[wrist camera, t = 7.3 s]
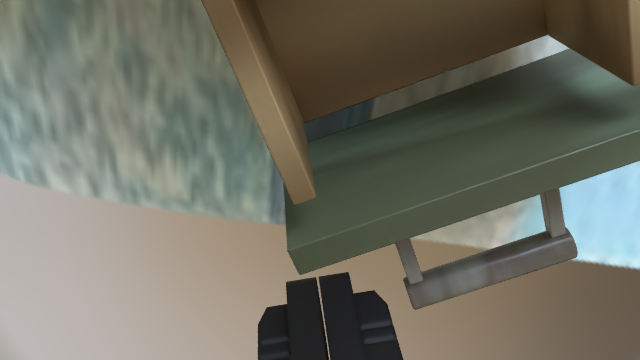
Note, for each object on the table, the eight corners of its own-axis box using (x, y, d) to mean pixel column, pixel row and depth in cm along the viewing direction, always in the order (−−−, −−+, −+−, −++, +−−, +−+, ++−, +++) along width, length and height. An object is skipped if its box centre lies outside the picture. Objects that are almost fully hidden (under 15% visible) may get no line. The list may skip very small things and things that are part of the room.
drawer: (590, 172, 27) (691, 267, 21) (328, 260, 28) (348, 376, 22) (525, -394, 17) (687, -553, 10) (118, -216, 18) (39, -259, 12)
